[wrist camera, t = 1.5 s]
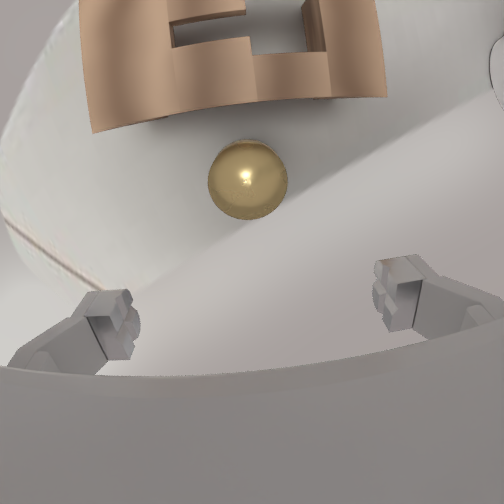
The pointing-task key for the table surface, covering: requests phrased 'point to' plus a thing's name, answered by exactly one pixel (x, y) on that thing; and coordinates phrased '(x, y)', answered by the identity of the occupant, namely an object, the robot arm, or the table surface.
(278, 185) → the peg
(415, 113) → the table surface
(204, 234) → the table surface
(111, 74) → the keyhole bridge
